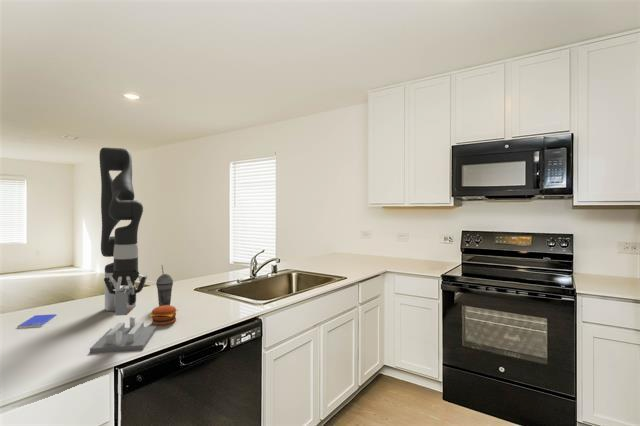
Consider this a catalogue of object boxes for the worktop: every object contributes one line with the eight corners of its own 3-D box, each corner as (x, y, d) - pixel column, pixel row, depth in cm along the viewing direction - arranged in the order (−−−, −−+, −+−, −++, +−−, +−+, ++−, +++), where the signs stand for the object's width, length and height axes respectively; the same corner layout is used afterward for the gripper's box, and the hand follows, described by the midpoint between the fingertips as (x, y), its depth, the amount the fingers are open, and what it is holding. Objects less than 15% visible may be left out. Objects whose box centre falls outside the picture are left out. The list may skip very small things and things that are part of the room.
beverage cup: (172, 309, 159) (173, 266, 158) (155, 310, 156) (155, 266, 155) (173, 304, 165) (173, 263, 165) (156, 306, 163) (156, 264, 162)
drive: (125, 306, 127) (125, 285, 126) (135, 306, 127) (135, 284, 127) (115, 315, 117) (115, 291, 117) (126, 315, 118) (126, 291, 117)
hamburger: (156, 318, 146) (156, 303, 146) (179, 318, 147) (179, 302, 147) (147, 326, 137) (147, 309, 137) (172, 326, 138) (172, 309, 138)
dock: (110, 332, 130) (110, 316, 129) (156, 329, 133) (156, 314, 133) (89, 353, 112) (89, 334, 112) (143, 349, 116) (143, 331, 115)
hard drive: (42, 324, 134) (57, 314, 146) (17, 325, 132) (34, 315, 144) (42, 328, 134) (57, 317, 146) (17, 329, 132) (34, 318, 144)
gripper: (150, 254, 127) (150, 301, 127) (107, 255, 124) (107, 302, 124) (144, 257, 120) (144, 307, 120) (99, 258, 117) (99, 309, 117)
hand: (125, 304), depth 122 cm, fingers closed on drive, 3 cm apart
